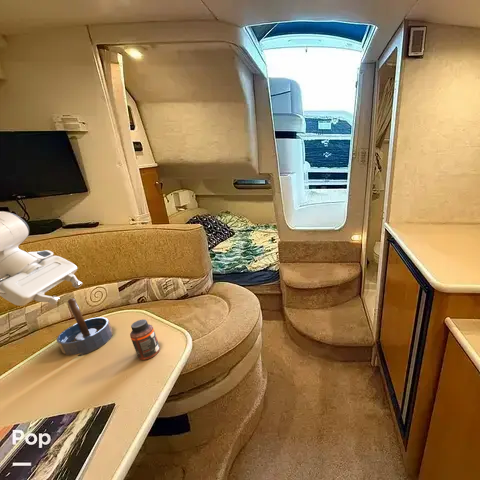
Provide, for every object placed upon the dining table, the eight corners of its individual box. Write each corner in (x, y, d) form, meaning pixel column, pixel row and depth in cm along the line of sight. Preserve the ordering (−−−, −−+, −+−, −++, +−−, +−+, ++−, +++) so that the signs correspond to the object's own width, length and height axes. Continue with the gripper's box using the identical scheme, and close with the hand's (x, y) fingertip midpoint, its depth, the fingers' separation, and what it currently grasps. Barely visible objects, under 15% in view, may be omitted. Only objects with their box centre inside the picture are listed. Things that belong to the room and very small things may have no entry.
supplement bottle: (164, 349, 84) (154, 319, 80) (146, 363, 79) (135, 331, 75) (152, 344, 87) (142, 315, 83) (134, 357, 82) (122, 327, 78)
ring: (54, 352, 86) (47, 338, 85) (99, 326, 98) (94, 314, 96) (77, 362, 81) (71, 347, 79) (122, 334, 93) (117, 321, 91)
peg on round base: (74, 344, 88) (54, 302, 83) (93, 333, 93) (76, 293, 87) (84, 348, 86) (64, 305, 81) (103, 337, 91) (85, 295, 85)
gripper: (-12, 277, 68) (46, 305, 72) (53, 248, 87) (95, 271, 92) (-22, 294, 69) (35, 321, 74) (43, 262, 88) (86, 284, 93)
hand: (69, 293), depth 83 cm, fingers open, 8 cm apart
